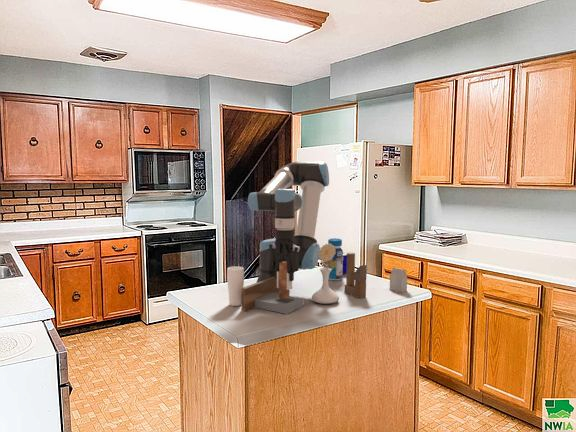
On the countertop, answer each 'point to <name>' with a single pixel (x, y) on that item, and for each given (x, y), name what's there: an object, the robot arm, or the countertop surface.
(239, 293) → the drinking glass
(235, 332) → the countertop surface
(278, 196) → the robot arm
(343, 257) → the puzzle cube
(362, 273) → the wooden block
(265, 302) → the holed block
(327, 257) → the flower in vase
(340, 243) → the beverage bottle
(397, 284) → the tea bag
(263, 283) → the backstop board
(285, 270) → the dowel
